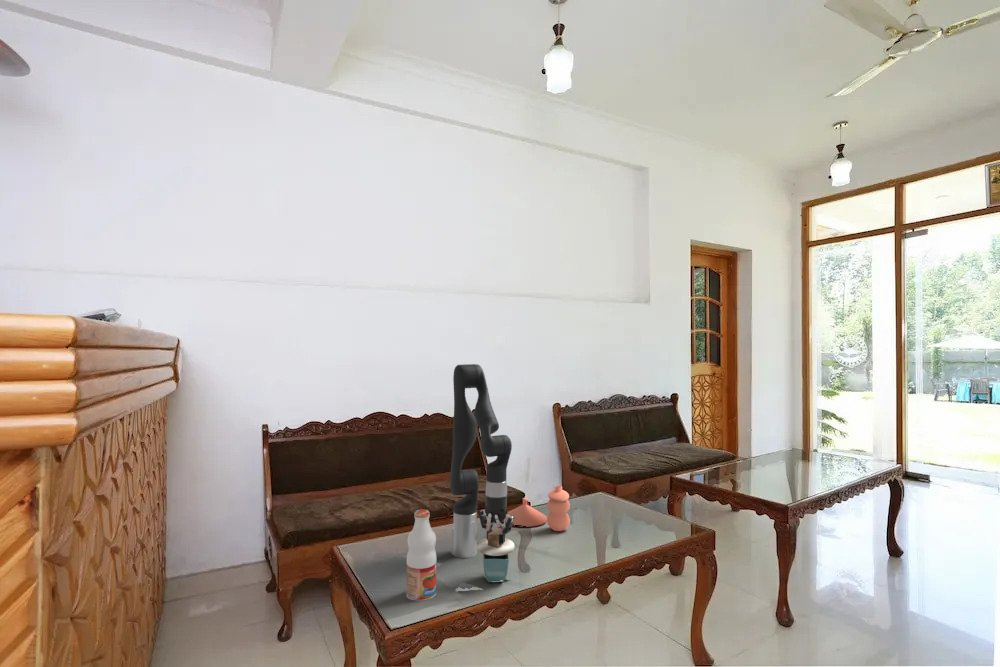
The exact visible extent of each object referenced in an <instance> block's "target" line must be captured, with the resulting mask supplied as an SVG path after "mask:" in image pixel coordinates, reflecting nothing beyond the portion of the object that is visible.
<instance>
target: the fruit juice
mask: <svg viewBox="0 0 1000 667" xmlns="http://www.w3.org/2000/svg"><path fill="white" fill-rule="evenodd" d="M430 514H431V513H430V510H428V509H417V510H415V511H414V516H413V517H414V525H413V526H412V527H413V528H412V530H411V531H410V532H409V534H408V536H407V541H406V542H407V548H408V551H407V555H406V582H405V583H406V593H405V595H406V597H407V599H409V600H412V601H425V600H429V599H432V598H434V597H435V596H436V594H437V552H436V548H435V547H436V544H437V536H436V532H435V531H434V530H433V529H432V527H431V524H430V520H429V519H430V517H431V516H430Z"/></svg>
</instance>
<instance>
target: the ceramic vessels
mask: <svg viewBox="0 0 1000 667" xmlns="http://www.w3.org/2000/svg"><path fill="white" fill-rule="evenodd" d="M547 497H548V498H549V499H548V501H547V504H546V507H547V509H548V511H550V512H549V513H548V515H545V514H544V513H542V512H540V511H539V510H537V509H536V508H534V507H532V506H530V505H529V504H528V498H527V497H522V504H521V505H519V506H518V507H515V508H514V509H511V510H510V511H507V513H508V515H510V516H514V521H513V524H514V525H513V524H512V526H515V525H523V526H526V527H529V528H530V527H536V526H541V525H543V524H545V523H546V522H547V525H548V526H549V528H551V529H552V530H553V531H555V532H564V531H565V530H566V529H567V528H569V526H570V524H571V519H570V516H569V513H567V512H568V511H569V510H570V508H571V504H570V501H569V498H570V494H569V493H568V492H567V491H566V490H564V489H563V486H562V485H558V484H557V485H555V486H554V489H552V490H550V491H549V492H548V494H547ZM504 520H505V524H507V522H506V518H505V519H504ZM523 526H522V527H523ZM526 527H525V528H526Z"/></svg>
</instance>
